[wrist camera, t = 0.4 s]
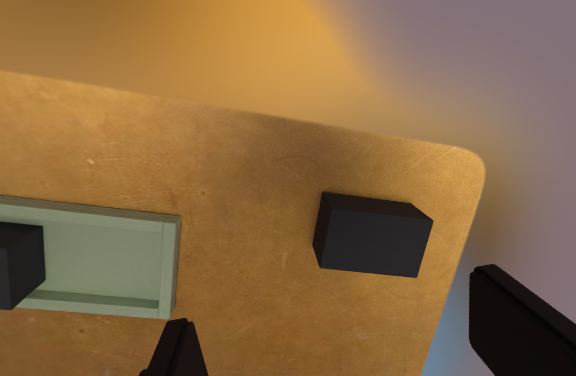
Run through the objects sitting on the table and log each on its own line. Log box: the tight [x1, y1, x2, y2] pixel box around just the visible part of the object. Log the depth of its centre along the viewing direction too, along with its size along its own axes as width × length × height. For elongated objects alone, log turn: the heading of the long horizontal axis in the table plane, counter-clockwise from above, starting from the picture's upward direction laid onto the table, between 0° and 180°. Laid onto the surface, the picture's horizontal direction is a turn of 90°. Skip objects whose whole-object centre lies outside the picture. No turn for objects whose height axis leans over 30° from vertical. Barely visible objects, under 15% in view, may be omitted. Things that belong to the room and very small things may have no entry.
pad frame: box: [0, 195, 181, 319], centre depth 27 cm, size 20×9×2 cm, turn 81°
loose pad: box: [312, 192, 433, 278], centre depth 27 cm, size 8×5×4 cm, turn 81°
